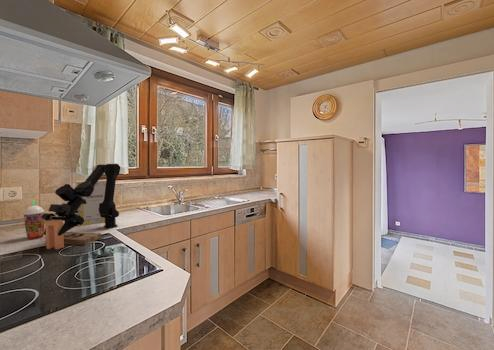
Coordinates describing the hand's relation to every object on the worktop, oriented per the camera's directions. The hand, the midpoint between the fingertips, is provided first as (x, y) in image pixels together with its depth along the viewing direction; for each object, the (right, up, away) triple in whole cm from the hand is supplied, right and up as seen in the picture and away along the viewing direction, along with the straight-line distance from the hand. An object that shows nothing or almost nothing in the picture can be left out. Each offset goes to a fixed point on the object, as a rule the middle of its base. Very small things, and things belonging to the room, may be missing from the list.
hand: (51, 235), depth 103 cm
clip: (0, -7, +2) cm, 7 cm away
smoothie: (-23, -6, +17) cm, 29 cm away
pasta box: (-12, -4, +47) cm, 49 cm away
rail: (+2, -6, +12) cm, 13 cm away
